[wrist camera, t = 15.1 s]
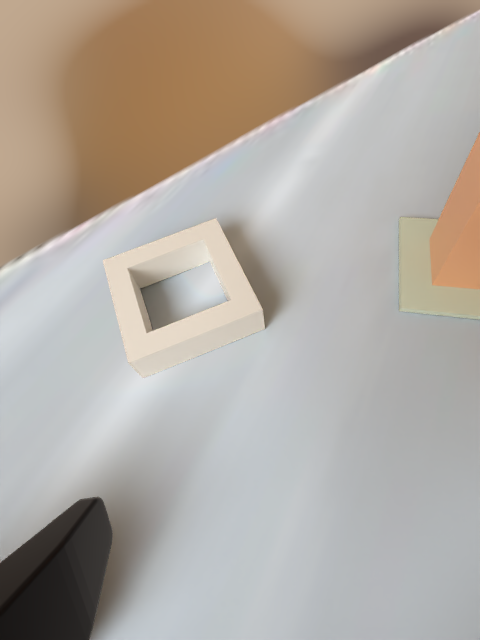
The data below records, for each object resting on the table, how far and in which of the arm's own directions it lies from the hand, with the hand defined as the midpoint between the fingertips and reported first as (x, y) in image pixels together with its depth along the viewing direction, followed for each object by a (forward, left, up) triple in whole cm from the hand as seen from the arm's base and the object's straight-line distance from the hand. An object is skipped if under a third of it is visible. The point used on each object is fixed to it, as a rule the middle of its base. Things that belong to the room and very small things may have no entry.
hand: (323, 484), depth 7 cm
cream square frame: (+14, -6, -14) cm, 20 cm away
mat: (0, -19, -14) cm, 23 cm away
